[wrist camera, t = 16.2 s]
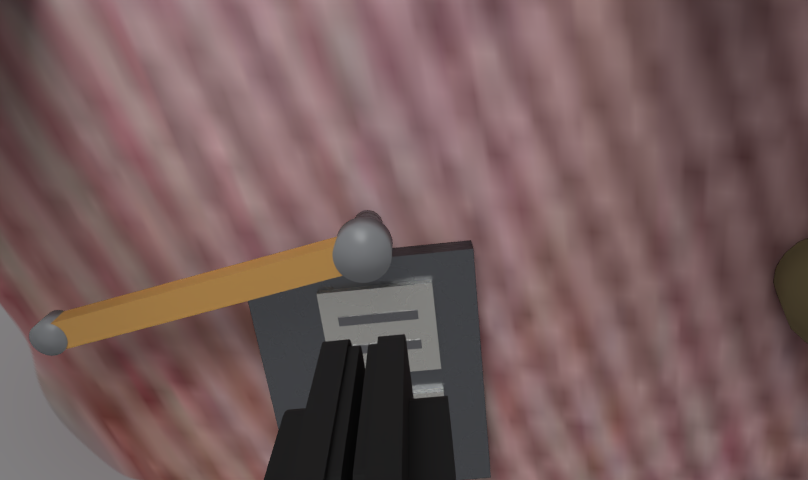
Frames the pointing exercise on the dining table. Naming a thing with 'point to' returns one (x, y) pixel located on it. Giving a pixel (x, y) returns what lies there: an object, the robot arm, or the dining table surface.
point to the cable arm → (222, 287)
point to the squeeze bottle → (794, 287)
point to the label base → (382, 316)
